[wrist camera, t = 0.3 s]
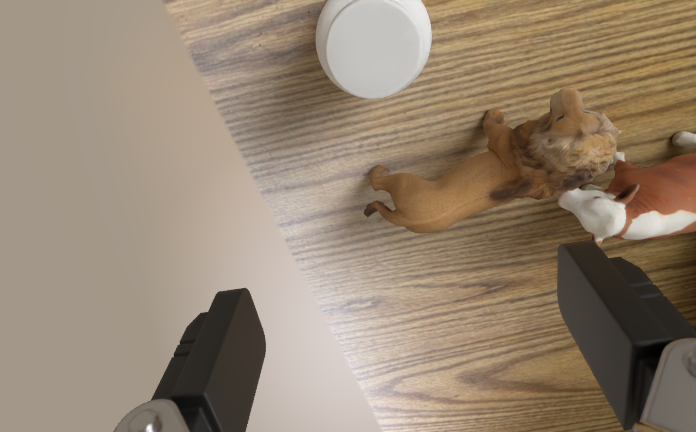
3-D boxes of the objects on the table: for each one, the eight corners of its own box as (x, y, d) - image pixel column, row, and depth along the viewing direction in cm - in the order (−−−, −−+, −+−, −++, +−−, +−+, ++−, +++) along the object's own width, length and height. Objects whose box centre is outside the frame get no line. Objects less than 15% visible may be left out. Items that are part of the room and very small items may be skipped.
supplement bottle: (318, -20, 27) (296, -13, 19) (414, -36, 27) (437, -35, 18) (333, 77, 30) (320, 123, 21) (422, 64, 29) (445, 106, 21)
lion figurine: (541, 51, 29) (609, 85, 21) (580, 122, 31) (655, 178, 23) (343, 184, 33) (336, 254, 25) (387, 239, 35) (394, 320, 27)
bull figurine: (527, 145, 31) (575, 199, 24) (749, 117, 30) (870, 166, 23) (526, 205, 33) (570, 272, 26) (734, 181, 32) (841, 244, 25)
